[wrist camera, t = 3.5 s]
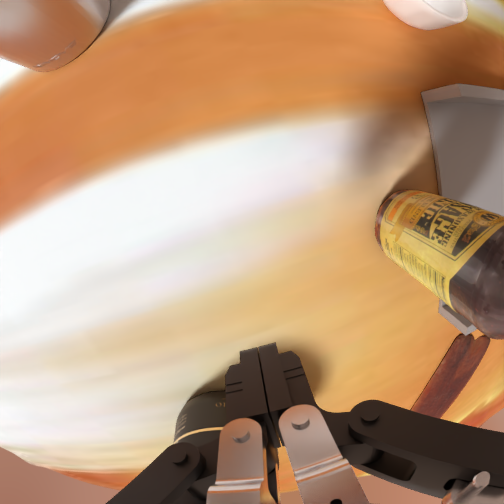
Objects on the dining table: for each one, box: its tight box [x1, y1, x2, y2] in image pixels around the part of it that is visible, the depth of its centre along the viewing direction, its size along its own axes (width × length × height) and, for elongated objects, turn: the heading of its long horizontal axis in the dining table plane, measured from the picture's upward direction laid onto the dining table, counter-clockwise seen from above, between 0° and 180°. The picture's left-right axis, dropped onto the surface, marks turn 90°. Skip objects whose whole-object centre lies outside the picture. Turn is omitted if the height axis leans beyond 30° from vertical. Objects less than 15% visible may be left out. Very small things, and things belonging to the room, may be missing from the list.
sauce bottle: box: [375, 190, 504, 339], centre depth 12 cm, size 7×6×20 cm
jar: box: [174, 391, 279, 470], centre depth 23 cm, size 10×10×8 cm
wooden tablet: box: [411, 334, 490, 419], centre depth 31 cm, size 27×10×2 cm, turn 167°
